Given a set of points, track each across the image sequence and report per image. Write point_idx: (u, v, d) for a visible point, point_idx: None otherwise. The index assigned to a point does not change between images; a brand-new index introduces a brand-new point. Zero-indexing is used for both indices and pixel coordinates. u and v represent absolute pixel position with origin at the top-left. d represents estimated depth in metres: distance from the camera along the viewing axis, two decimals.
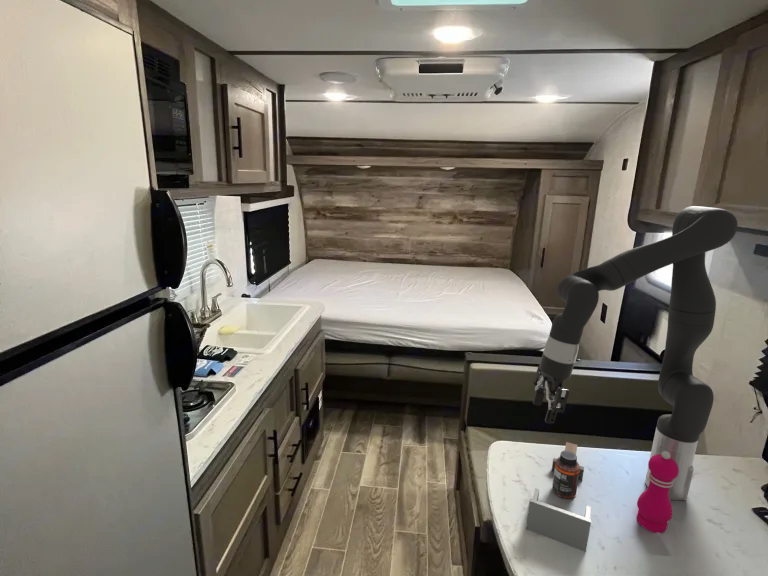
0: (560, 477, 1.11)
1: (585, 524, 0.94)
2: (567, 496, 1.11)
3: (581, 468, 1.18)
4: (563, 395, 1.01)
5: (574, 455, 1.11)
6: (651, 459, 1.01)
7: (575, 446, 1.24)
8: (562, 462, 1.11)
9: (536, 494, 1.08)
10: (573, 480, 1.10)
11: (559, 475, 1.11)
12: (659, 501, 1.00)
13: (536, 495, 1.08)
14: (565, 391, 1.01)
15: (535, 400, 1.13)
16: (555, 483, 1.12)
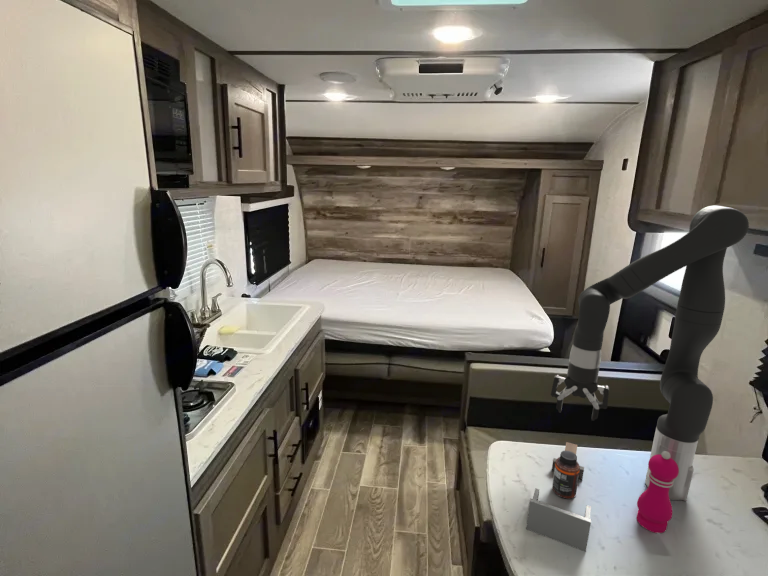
0: (560, 477, 1.11)
1: (585, 524, 0.94)
2: (567, 496, 1.11)
3: (581, 468, 1.18)
4: None
5: (574, 455, 1.11)
6: (651, 459, 1.01)
7: (575, 446, 1.24)
8: (562, 462, 1.11)
9: (536, 494, 1.08)
10: (573, 480, 1.10)
11: (559, 475, 1.11)
12: (659, 501, 1.00)
13: (536, 495, 1.08)
14: (608, 387, 1.14)
15: (561, 408, 1.20)
16: (555, 483, 1.12)
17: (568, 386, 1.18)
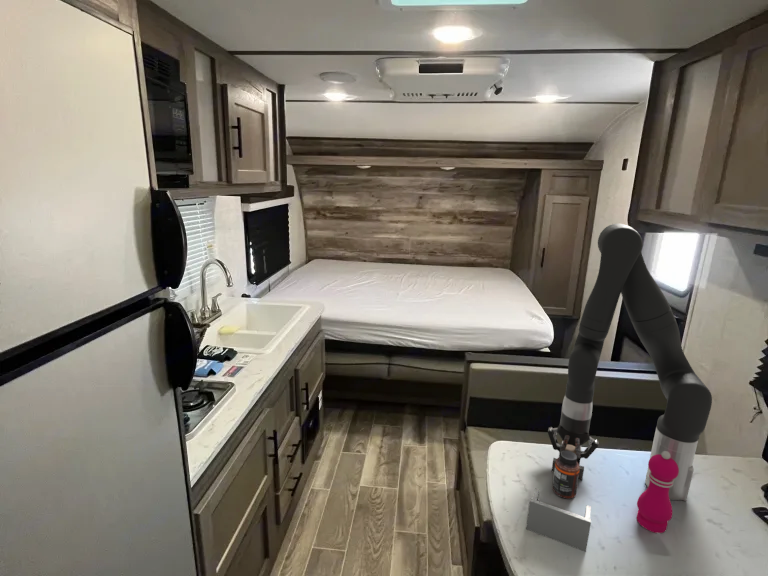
0: (560, 477, 1.11)
1: (585, 524, 0.94)
2: (567, 496, 1.11)
3: (581, 468, 1.18)
4: None
5: (574, 455, 1.11)
6: (651, 459, 1.01)
7: None
8: (562, 462, 1.11)
9: (536, 494, 1.08)
10: (573, 480, 1.10)
11: (559, 475, 1.11)
12: (659, 501, 1.00)
13: (536, 495, 1.08)
14: (597, 442, 1.19)
15: None
16: (555, 483, 1.12)
17: (562, 437, 1.22)
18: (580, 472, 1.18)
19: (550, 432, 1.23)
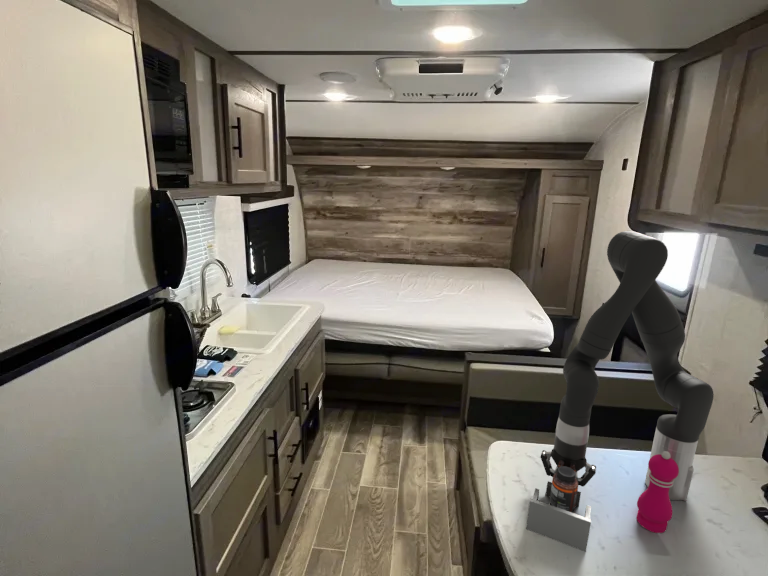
0: (557, 494, 1.05)
1: (585, 524, 0.94)
2: None
3: (577, 493, 1.08)
4: None
5: (572, 471, 1.05)
6: (651, 459, 1.01)
7: None
8: (559, 479, 1.05)
9: (536, 494, 1.08)
10: (571, 498, 1.04)
11: (556, 492, 1.05)
12: (659, 501, 1.00)
13: (536, 495, 1.08)
14: (595, 468, 1.08)
15: None
16: (552, 501, 1.06)
17: (556, 462, 1.11)
18: (576, 498, 1.08)
19: (543, 456, 1.12)
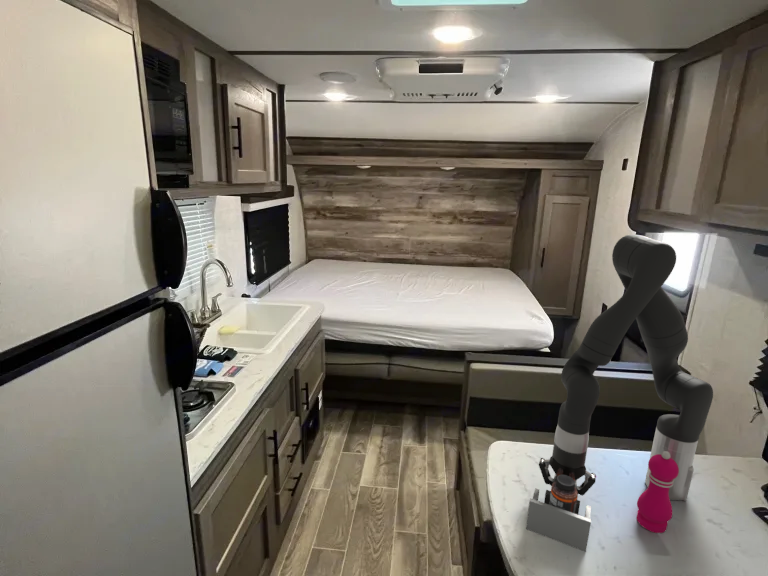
0: (556, 504, 1.02)
1: (585, 524, 0.94)
2: None
3: (577, 502, 1.06)
4: None
5: (572, 480, 1.02)
6: (651, 459, 1.01)
7: None
8: (558, 488, 1.02)
9: (536, 494, 1.08)
10: (571, 508, 1.01)
11: (555, 502, 1.02)
12: (659, 501, 1.00)
13: (536, 495, 1.08)
14: (595, 477, 1.05)
15: None
16: None
17: (555, 471, 1.08)
18: (576, 507, 1.05)
19: (541, 464, 1.09)
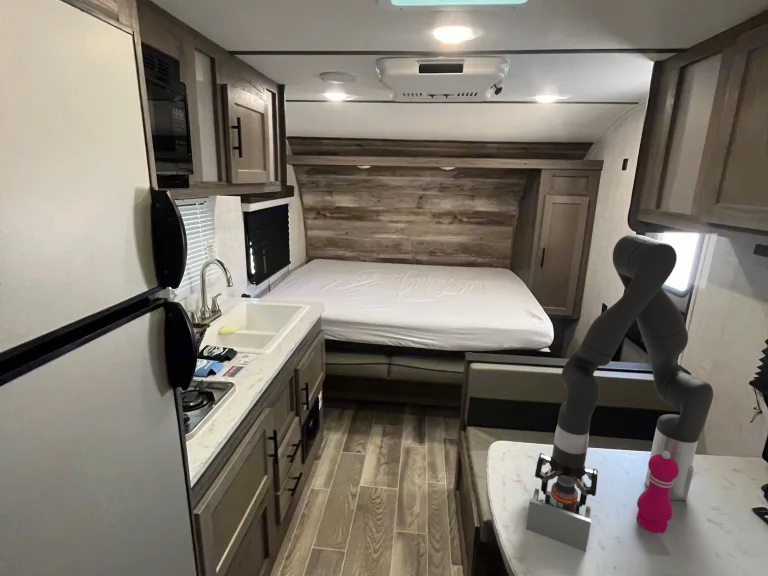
0: (556, 505, 1.01)
1: (585, 524, 0.94)
2: None
3: (577, 503, 1.05)
4: None
5: (572, 481, 1.01)
6: (651, 459, 1.01)
7: None
8: (558, 488, 1.01)
9: (536, 494, 1.08)
10: (571, 509, 1.00)
11: (555, 503, 1.02)
12: (659, 501, 1.00)
13: (536, 495, 1.08)
14: (596, 471, 1.04)
15: (546, 490, 1.10)
16: None
17: (553, 468, 1.08)
18: (576, 508, 1.05)
19: (541, 460, 1.09)
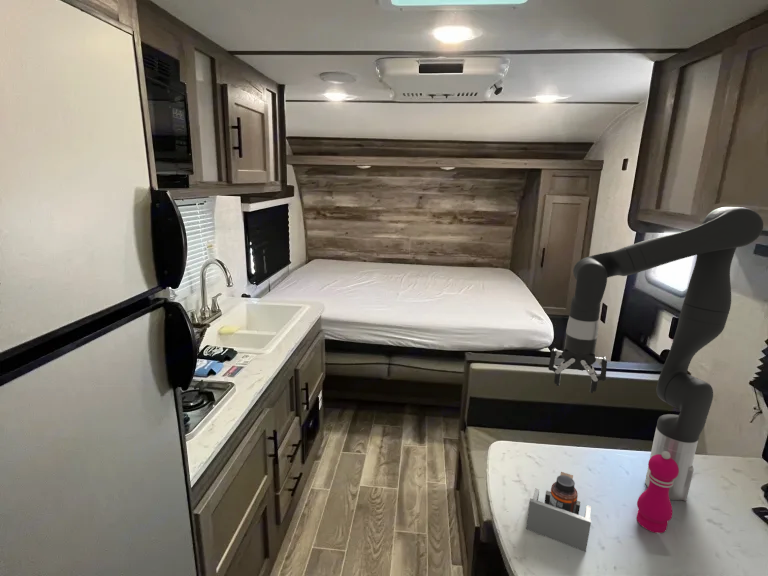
0: (556, 505, 1.01)
1: (585, 524, 0.94)
2: None
3: (577, 503, 1.05)
4: None
5: (571, 481, 1.02)
6: (651, 459, 1.01)
7: (571, 477, 1.11)
8: (558, 488, 1.02)
9: (536, 494, 1.08)
10: (571, 509, 1.00)
11: (554, 503, 1.02)
12: (659, 501, 1.00)
13: (536, 495, 1.08)
14: (606, 358, 1.13)
15: (559, 382, 1.19)
16: None
17: (566, 359, 1.16)
18: (576, 508, 1.05)
19: (554, 352, 1.17)
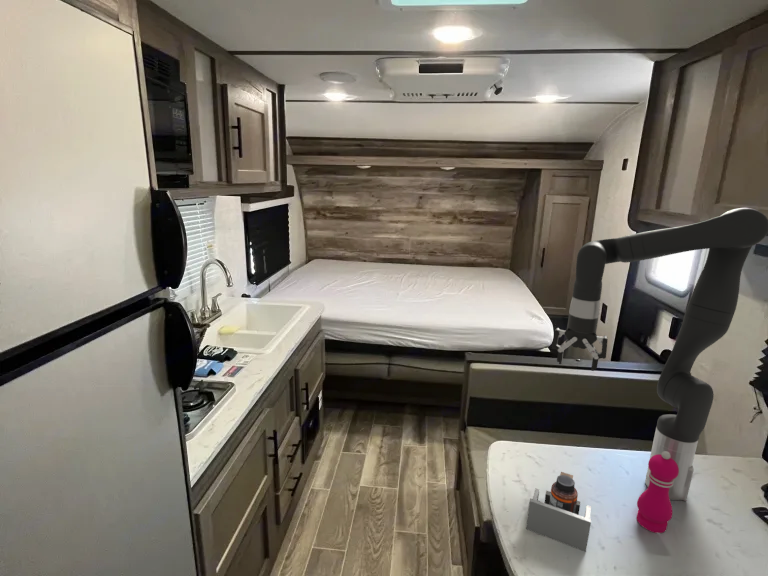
0: (556, 504, 1.01)
1: (585, 524, 0.94)
2: None
3: (577, 503, 1.05)
4: None
5: (571, 481, 1.02)
6: (651, 459, 1.01)
7: None
8: (558, 488, 1.02)
9: (536, 494, 1.08)
10: (571, 509, 1.01)
11: (554, 502, 1.02)
12: (659, 501, 1.00)
13: (536, 495, 1.08)
14: (606, 337, 1.19)
15: (561, 360, 1.25)
16: None
17: (568, 338, 1.22)
18: (576, 508, 1.05)
19: (557, 331, 1.23)
